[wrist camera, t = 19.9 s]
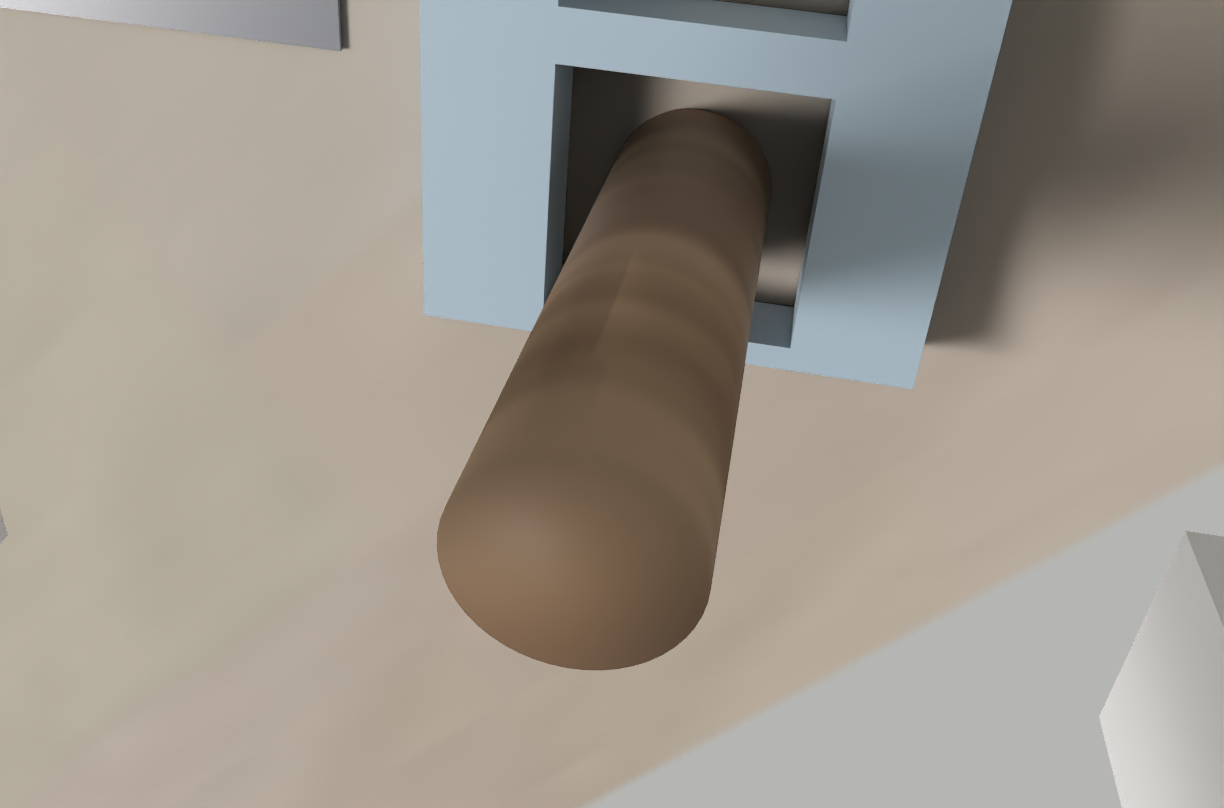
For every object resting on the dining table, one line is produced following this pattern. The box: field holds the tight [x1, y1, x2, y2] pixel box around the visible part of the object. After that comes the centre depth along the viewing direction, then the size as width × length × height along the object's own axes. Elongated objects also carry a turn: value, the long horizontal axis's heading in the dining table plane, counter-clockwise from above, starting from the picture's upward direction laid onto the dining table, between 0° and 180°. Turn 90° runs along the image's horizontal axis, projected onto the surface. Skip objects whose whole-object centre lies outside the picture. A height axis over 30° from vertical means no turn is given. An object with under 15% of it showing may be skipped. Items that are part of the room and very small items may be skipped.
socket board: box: [419, 0, 1012, 389], centre depth 21 cm, size 12×10×2 cm
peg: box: [437, 109, 771, 670], centre depth 18 cm, size 3×3×12 cm
